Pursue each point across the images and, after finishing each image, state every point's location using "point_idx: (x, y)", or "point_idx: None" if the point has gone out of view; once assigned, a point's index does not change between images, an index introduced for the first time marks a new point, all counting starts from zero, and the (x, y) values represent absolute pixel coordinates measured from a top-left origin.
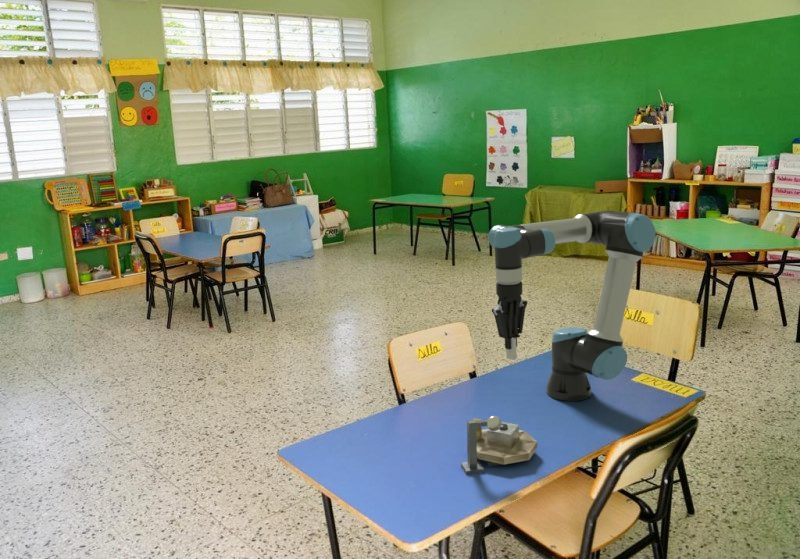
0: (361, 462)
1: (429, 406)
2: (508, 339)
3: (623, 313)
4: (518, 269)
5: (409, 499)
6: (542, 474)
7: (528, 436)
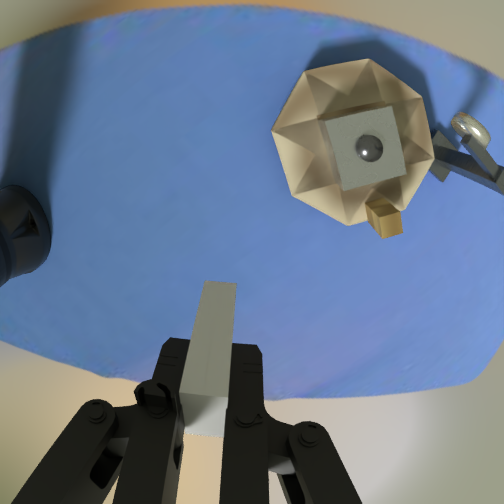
0: (480, 308)
1: None
2: (260, 411)
3: None
4: None
5: None
6: (365, 27)
7: (293, 105)
